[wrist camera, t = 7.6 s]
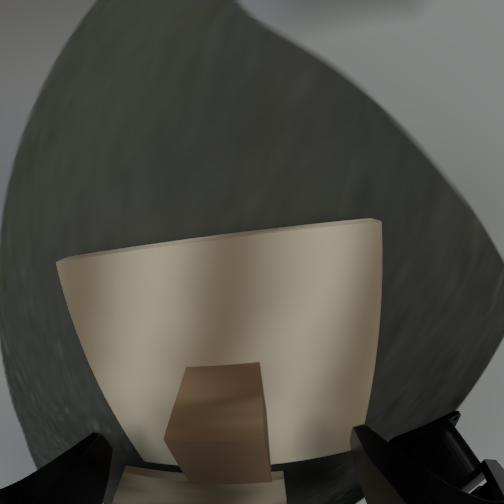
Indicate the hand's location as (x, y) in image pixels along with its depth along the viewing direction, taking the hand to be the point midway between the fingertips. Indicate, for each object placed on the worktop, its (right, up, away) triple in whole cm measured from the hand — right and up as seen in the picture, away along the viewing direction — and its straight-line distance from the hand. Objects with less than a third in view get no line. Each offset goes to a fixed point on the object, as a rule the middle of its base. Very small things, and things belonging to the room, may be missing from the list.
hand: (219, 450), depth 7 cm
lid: (0, +1, +5) cm, 5 cm away
